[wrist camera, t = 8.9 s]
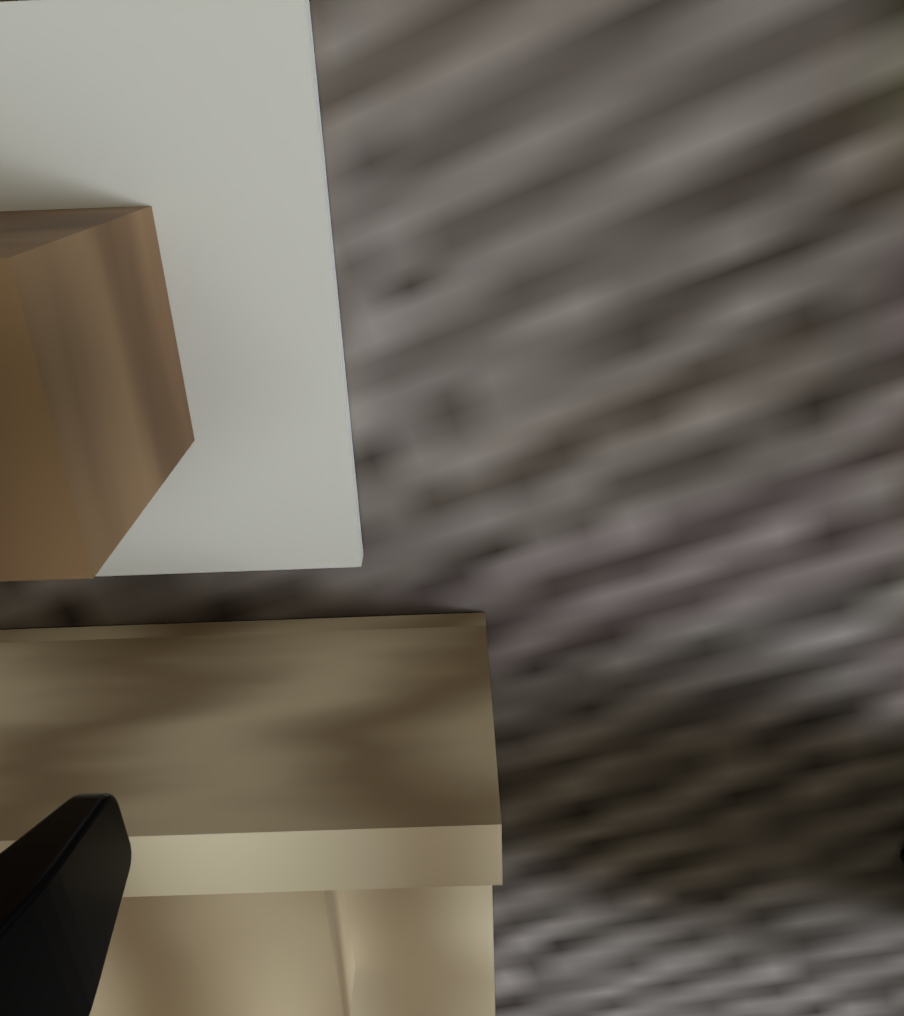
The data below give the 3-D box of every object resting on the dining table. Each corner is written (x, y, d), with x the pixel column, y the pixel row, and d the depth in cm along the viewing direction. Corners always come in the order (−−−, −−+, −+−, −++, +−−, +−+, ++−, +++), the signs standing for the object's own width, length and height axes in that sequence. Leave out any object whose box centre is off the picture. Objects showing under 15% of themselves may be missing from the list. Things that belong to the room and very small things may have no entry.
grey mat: (308, -8, 15) (303, -12, 15) (363, 554, 21) (360, 566, 20) (-332, 20, 15) (-359, 17, 15) (-113, 571, 21) (-128, 584, 20)
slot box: (485, 612, 21) (502, 824, 15) (495, 1057, 30) (509, 1310, 24) (-202, 637, 22) (-466, 856, 15) (2, 1072, 30) (-114, 1327, 24)
